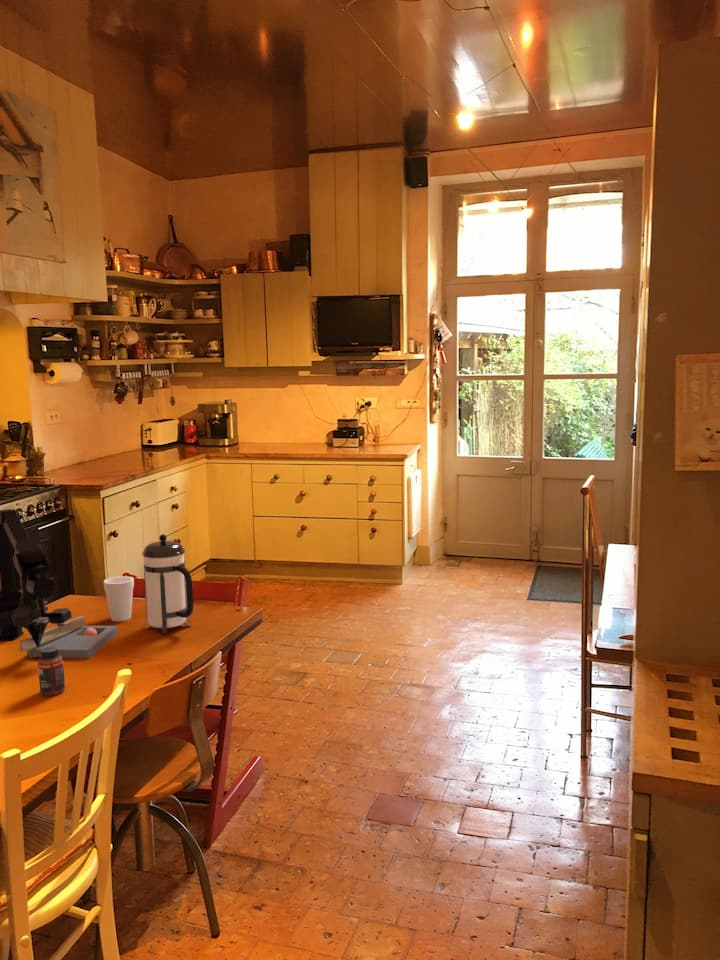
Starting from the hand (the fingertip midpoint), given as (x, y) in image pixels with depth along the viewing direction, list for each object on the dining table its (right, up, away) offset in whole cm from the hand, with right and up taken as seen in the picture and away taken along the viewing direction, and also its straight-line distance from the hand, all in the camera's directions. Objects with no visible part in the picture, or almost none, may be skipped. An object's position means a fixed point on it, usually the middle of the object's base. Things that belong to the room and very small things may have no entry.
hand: (38, 645), depth 217 cm
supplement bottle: (+13, -7, -23) cm, 27 cm away
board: (+6, -2, +11) cm, 13 cm away
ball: (+10, 0, +14) cm, 17 cm away
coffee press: (+31, 0, +25) cm, 40 cm away
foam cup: (+12, +1, +36) cm, 38 cm away
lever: (+1, 0, +9) cm, 9 cm away
